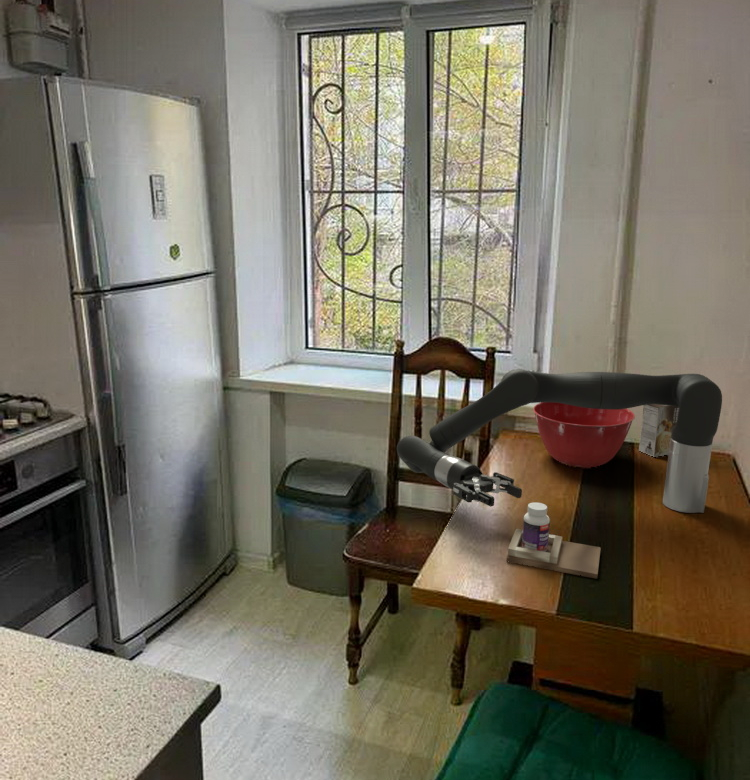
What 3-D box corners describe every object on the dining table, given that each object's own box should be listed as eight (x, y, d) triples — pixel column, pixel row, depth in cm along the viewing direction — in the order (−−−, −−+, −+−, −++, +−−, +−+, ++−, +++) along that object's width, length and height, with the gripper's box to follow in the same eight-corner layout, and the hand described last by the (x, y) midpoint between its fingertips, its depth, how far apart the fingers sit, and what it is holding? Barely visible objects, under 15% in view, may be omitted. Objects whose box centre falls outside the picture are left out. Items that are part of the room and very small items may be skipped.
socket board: (600, 551, 142) (601, 541, 142) (597, 578, 132) (598, 567, 131) (516, 536, 149) (516, 526, 148) (506, 561, 138) (507, 550, 137)
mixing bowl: (514, 464, 194) (518, 413, 190) (549, 438, 216) (553, 393, 212) (613, 486, 178) (619, 431, 174) (639, 456, 201) (645, 407, 197)
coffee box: (659, 448, 209) (665, 398, 205) (676, 454, 203) (682, 404, 199) (637, 451, 205) (643, 401, 201) (653, 458, 199) (660, 407, 195)
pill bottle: (542, 556, 138) (545, 513, 135) (518, 549, 141) (520, 507, 138) (551, 546, 142) (554, 504, 140) (527, 540, 145) (530, 498, 143)
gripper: (435, 465, 154) (484, 488, 141) (480, 454, 162) (530, 475, 149) (434, 495, 156) (482, 521, 143) (478, 483, 164) (528, 506, 151)
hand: (507, 498), depth 146 cm, fingers open, 8 cm apart
